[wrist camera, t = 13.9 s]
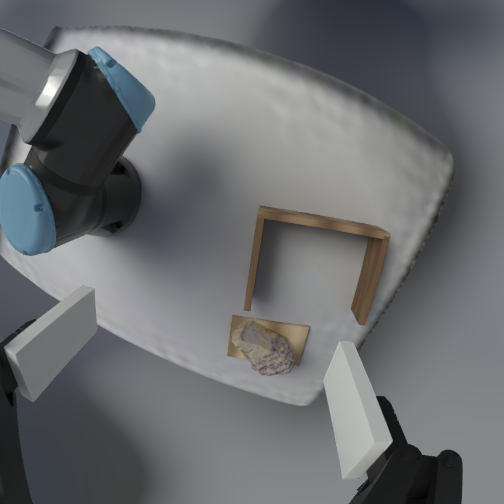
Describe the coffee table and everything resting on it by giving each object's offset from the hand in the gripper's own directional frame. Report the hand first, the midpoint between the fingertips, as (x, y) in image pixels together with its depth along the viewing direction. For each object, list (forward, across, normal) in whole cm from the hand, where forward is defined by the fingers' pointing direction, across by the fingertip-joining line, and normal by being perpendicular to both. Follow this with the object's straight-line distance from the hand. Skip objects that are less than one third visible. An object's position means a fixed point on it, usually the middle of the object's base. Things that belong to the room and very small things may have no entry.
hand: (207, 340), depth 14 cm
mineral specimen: (+33, +7, -22) cm, 40 cm away
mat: (+34, +7, -22) cm, 40 cm away
